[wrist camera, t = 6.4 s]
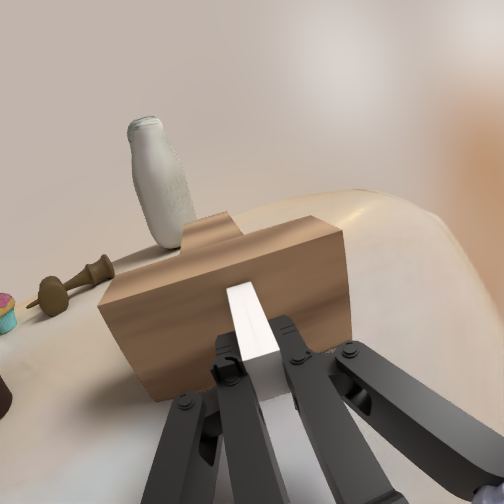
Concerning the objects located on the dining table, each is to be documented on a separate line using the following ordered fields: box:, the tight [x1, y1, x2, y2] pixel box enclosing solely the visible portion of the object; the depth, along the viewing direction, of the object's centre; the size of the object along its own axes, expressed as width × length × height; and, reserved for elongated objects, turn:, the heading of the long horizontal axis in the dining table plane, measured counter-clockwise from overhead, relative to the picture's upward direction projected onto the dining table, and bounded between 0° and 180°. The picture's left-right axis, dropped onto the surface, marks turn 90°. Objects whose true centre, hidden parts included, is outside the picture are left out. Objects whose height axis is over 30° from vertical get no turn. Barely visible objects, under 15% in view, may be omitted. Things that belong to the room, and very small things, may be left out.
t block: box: [97, 212, 352, 402], centre depth 25 cm, size 16×16×9 cm
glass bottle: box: [127, 116, 197, 249], centre depth 52 cm, size 10×10×28 cm
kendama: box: [26, 255, 115, 316], centre depth 43 cm, size 6×10×20 cm
